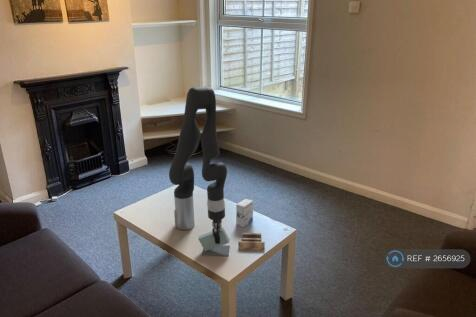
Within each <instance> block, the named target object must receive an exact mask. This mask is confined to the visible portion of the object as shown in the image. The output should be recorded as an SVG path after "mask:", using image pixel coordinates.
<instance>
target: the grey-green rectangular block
mask: <svg viewBox="0 0 476 317" xmlns="http://www.w3.org/2000/svg"><path fill="white" fill-rule="evenodd" d="M197 239H198V241H199V243H200V245H201V247H202V248H203V249H204V251H208V250H211V249H213V248H216V247H219V246H222V245H226V244H229V243H230V238H229V236H228V234H227V233H226V230H225V228H224V227H223V226H222V227H221V232H220V244H215V238H214V237H213V231H212V230H211V231H209V232H207V233H203V234H201V235H199V236H198V238H197ZM203 249H202V250H203Z"/></svg>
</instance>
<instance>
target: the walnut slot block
mask: <svg viewBox="0 0 476 317" xmlns="http://www.w3.org/2000/svg"><path fill="white" fill-rule="evenodd" d="M241 236H242V237H241V241H243V242H262V233H261V232H259V233H258V232H242V235H241Z"/></svg>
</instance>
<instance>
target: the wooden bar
mask: <svg viewBox="0 0 476 317" xmlns="http://www.w3.org/2000/svg"><path fill="white" fill-rule="evenodd" d="M265 243H266V242H265V241H261V242H243V241H242V240H241V241H240V240H239V241H238V243H237V244H238V245H237V248H238V249H239V250H240V251H241V250H242V251H244V250H245V251H246V250H247V251H263V250H265V249H266V248H265V245H266V244H265Z"/></svg>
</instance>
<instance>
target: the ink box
mask: <svg viewBox="0 0 476 317" xmlns="http://www.w3.org/2000/svg"><path fill="white" fill-rule="evenodd" d="M235 212H236V214H235V216H236V217H235V219H236V220H235V222H236V223H235V225H237V226H240V227H242V228H244V227H245V226H247V225H249V224H250V223H252V221H253V220H254V201H253V200H252V199H248V198H244V199H243V200H241V201H240V202H238V203H236V211H235Z"/></svg>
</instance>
